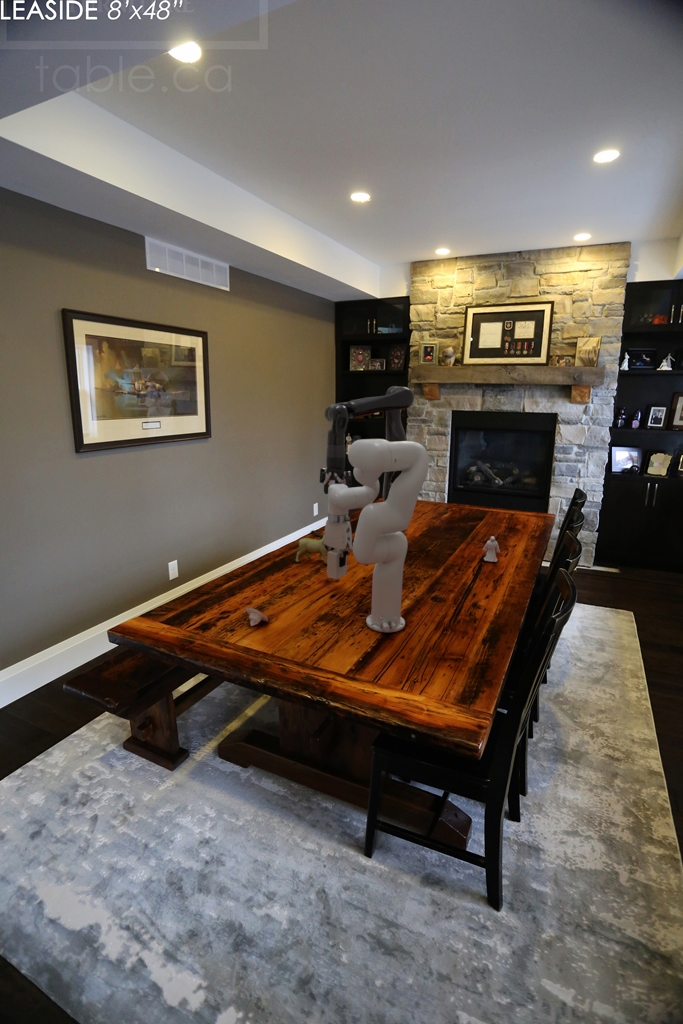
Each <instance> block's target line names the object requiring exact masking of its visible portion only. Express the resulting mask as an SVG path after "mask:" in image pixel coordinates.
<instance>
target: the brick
mask: <svg viewBox="0 0 683 1024" xmlns="http://www.w3.org/2000/svg"><path fill="white" fill-rule="evenodd" d="M343 552H344V550H343ZM340 557H341V555H340V549H337V548H334V550H332V551H329V552H328V553H326V561H327V566H326V577H328V578H330V579H334V580H338V579H340V578H342V577H344V576H346V575H347V574H348V555H347V556H346V564H345V566H343V567H339V559H340Z"/></svg>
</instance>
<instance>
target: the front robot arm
mask: <svg viewBox="0 0 683 1024" xmlns="http://www.w3.org/2000/svg"><path fill="white" fill-rule="evenodd" d="M347 459H348V462H349V464H350V465H351V466H352V467H353V477H354V478H355V480H356V481H357V483H359V484H360V485H362V486H356V487H355V486H353V487H349V486H347V485H344V484H340V483H332V484H329V488H328V494H327V519H326V521H325V526H324V533H323V536H324V540H323V541H322V545H323V546H324V547H325V549H326V550H327V553H328V552H329V551H332V550H334V549H336V548H337V549H340V555H341V557H340V559H339V567H343V566H345V564H346V556H347V557H348V555H349V554H350V553H352V554H353V557H354V560H355V561H356V562H357V563H359V564H360V565H365V566H366V565H367V566H368V565H374V568H373V570H372V585H371V586H372V587H371V607H370V609H371V613H370V615H368V616H367V617H366V621H365V622H366V623H365V624H366V625H367V627H368V628H369V629H372V630H373V631H376V632H379V633H396V632H398V631H402V630H403V629H404V628H405V626H406V620H405V618H403V617H402V615H401V614H402V599H403V598H402V597H403V580H404V567H405V562H406V561H405V560H406V557H407V554H408V546H409V544H408V539H407V536H406V535H404V534H403V533H402V532H400V531H403V530H405V531H406V530H407V529H408V528H409V526H410V524H411V521H412V519H413V515H414V511H415V510H416V509H415V508H416V506H417V502H418V498H419V495H420V492H421V490H422V488H423V485H424V484H425V481H426V479H427V476H428V473H429V468H430V460H429V454H428V451H427V449H426V447H425V446H423V444H421V443H419V442H417V441H411V440H407V441H396V442H389V441H387V440H386V439H384V438H366V439H365V438H363V439H357V440H355V441H353V442H352V443H351V444H350V446H349V448H348V451H347ZM390 471H395V472H399V471H401V473H400V474H399V475H398V476H397V477H396V478H395V479H394V481H393V482H392V483H393V484H392V486H391V488H390V491H389V495H388V498H387V500H386V501H379V502H375V500H376V499H377V497H378V496H379V494H380V488H381V487H380V486H381V484H380V481H379V479H380V477H381V475H382V474H383V473H385V472H390ZM356 509H362V510H361V512H360V514H359V517H358V521H357V525H356V529H355V532H354V533H355V535H354V538H353V531H352V524H351V522H350V521H351V520H352V519H351V517H350V516H349V511H350V510H356ZM352 540H354V542H353V541H352ZM343 550H344V552H343ZM327 553H326V554H327Z"/></svg>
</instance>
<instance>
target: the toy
mask: <svg viewBox="0 0 683 1024" xmlns="http://www.w3.org/2000/svg"><path fill="white" fill-rule="evenodd" d="M323 540H324V535H323V537H321V539H314V538H310V537H303V538H301V539H299V541H298V543H297V545H298V548H299V550H298V551H297V552H296V556H295V563H300V560H299V559H300V556H301V555H302V554H304V556H306V557H307V560H309V561H310V560H312V557H311V555H310V554H319V555H318V559H317V560H318V561H319V562H322V561H323V562H324V564H325V565H327V550H326V549H325V547H324V546H323V545H322V541H323ZM309 553H310V554H309Z"/></svg>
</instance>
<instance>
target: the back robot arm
mask: <svg viewBox="0 0 683 1024" xmlns="http://www.w3.org/2000/svg"><path fill="white" fill-rule="evenodd" d="M414 401H415V395H414V392H413V391H412V390H411V388H408V387H406V386H397V385H394V386H393V385H392V386H390V387H389V388H388V389H387V390H386V392H385V395H380V396H371V397H370V396H369V397H363V398H358V399H353V400H349V401H347V402H346V401H345V402H337V403H332V404H329V405H328V406H327V407H326V408H325V409H324V413H323V414H324V418H325V420H326V421H328V422H330V423H332V424H331V429H329V430H328V431H327V433H326V434H327V435H326V436H327V437H326V439H327V440H326V463H325V465H326V466H325V467H322V468H320V470H319V483H320V484H322V485H323V493H324V494H325V495H328V488H329V486H330V482H331V481H335V482H338V484H344V485H347V486H348V487H351V486H352V485H353V484H352V483H353V481H352V471H351V470H349V471H346V470H345V467H346V431H347V427H348V423H349V419H358V418H362V417H366V416H370V415H373V414H378V413H382V412H385V420H386V421H385V440H387V441H389V442H396V441H408V440H407V436H406V435H407V434H406V431H405V429H404V426H403V424H402V423H403V422H402V415H401V414H402V411H403V410H408V409H409V408H411V406H412V405H413V403H414ZM395 472H396V471H390V472H384V477H383V487H382V500H383V501H382V502H384V501H386V500H387V498H388V495H389V491H390V488H391V486H392V484H393V482H392V479H393V476H394V474H395ZM314 532H316V531H315V530H314V529H312V530H311V531H310V532H309V533H310V534H314V535H315V536H317V537H319V538H323V536H324V534H323V535H322V534H319V533H317V532H316V533H314ZM400 532H402V533H403V534H404V535H405V534H406V533H405V532H406V529H405V530H403V531H400ZM405 536H406V535H405ZM353 542H354V539H352V543H353Z"/></svg>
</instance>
